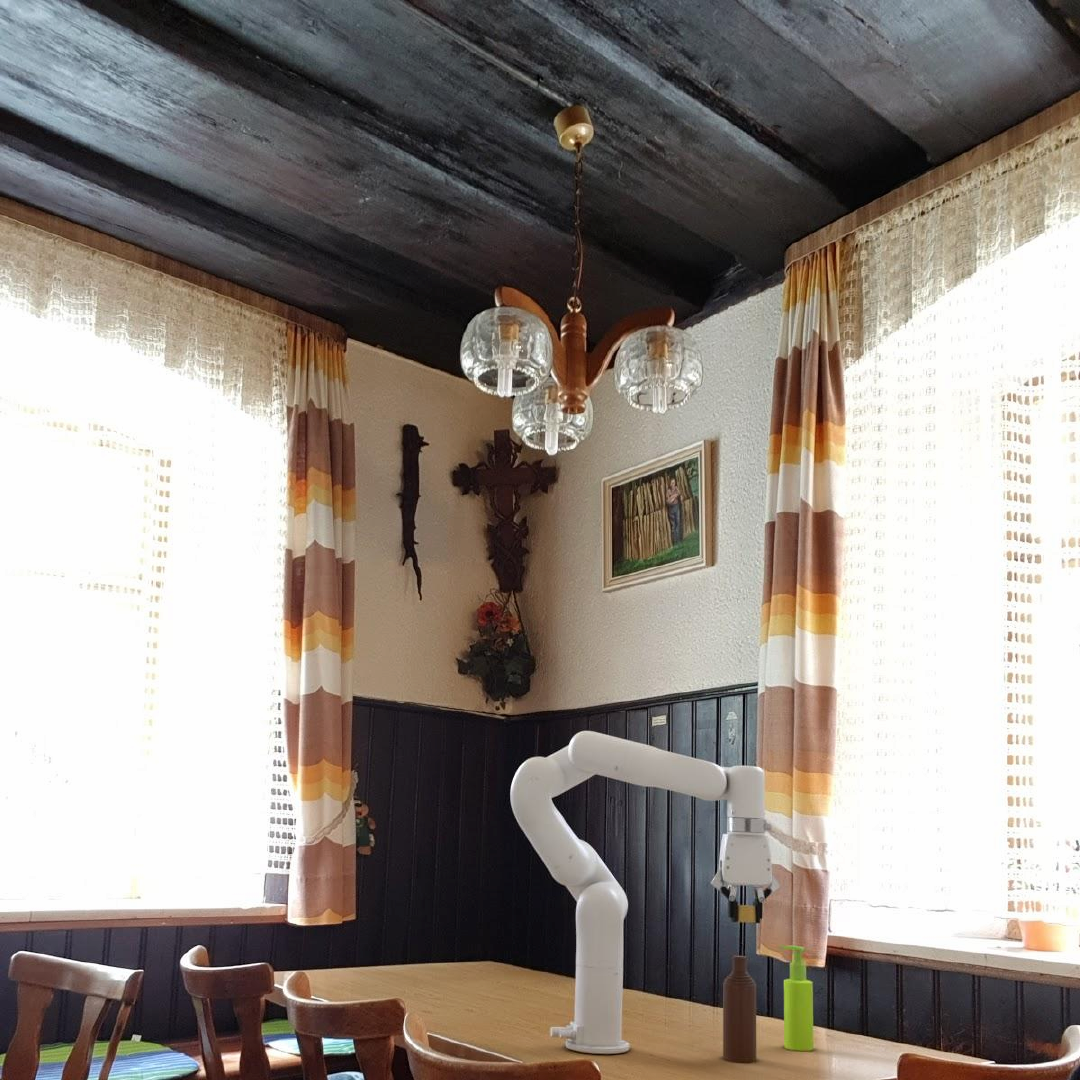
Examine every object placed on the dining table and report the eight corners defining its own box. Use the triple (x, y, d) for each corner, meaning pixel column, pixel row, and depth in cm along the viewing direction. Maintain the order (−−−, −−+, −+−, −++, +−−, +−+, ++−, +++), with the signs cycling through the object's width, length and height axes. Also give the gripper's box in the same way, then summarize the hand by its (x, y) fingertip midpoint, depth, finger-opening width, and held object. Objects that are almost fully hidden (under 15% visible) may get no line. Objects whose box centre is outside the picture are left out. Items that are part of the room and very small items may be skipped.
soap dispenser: (788, 1043, 248) (787, 943, 252) (818, 1048, 243) (816, 946, 248) (774, 1047, 243) (773, 945, 248) (805, 1052, 239) (803, 948, 244)
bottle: (730, 1062, 225) (730, 957, 229) (718, 1056, 231) (718, 954, 235) (761, 1062, 226) (761, 958, 231) (748, 1056, 232) (748, 954, 237)
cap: (747, 921, 237) (747, 905, 237) (759, 922, 233) (759, 906, 234) (731, 921, 235) (731, 904, 236) (743, 922, 232) (743, 905, 232)
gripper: (781, 829, 243) (781, 922, 239) (701, 825, 242) (700, 918, 238) (791, 829, 236) (791, 925, 231) (709, 825, 235) (707, 922, 230)
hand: (745, 921), depth 235 cm, fingers closed on cap, 3 cm apart
